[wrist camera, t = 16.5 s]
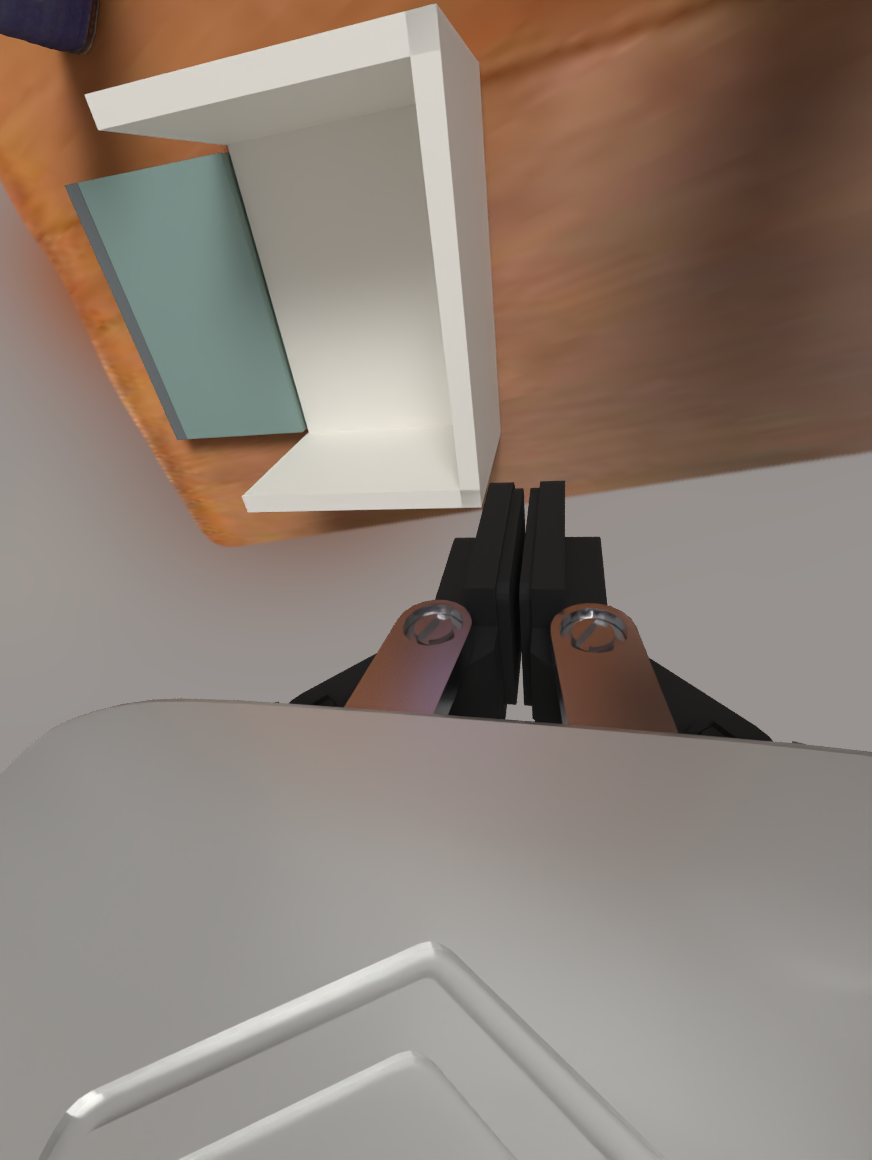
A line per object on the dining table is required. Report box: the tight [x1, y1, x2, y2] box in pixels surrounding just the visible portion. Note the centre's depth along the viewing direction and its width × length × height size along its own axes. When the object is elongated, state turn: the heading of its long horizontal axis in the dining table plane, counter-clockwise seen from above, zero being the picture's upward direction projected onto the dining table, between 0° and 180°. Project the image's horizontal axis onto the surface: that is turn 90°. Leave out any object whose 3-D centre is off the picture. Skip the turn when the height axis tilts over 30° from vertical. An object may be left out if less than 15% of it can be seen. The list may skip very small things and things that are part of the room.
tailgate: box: [65, 153, 307, 440], centre depth 39 cm, size 1×18×12 cm
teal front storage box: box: [85, 4, 501, 512], centre depth 32 cm, size 16×21×12 cm
